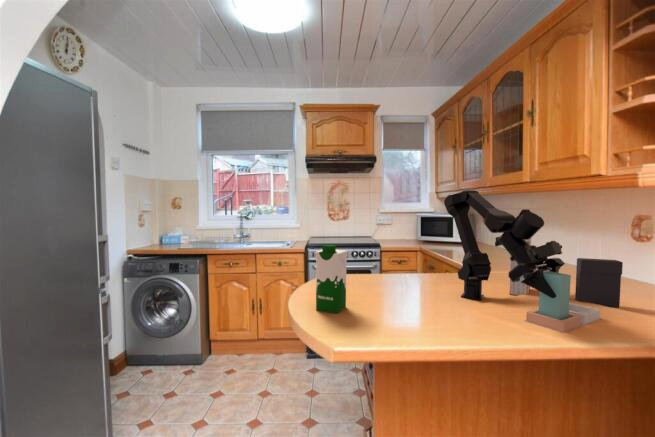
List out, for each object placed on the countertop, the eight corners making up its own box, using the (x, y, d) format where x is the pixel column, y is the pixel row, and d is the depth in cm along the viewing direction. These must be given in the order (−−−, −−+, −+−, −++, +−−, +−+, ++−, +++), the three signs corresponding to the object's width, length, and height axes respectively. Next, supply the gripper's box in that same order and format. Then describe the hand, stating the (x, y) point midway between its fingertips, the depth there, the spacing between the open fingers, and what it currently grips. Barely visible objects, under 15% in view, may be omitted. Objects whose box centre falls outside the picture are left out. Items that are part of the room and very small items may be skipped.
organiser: (523, 324, 88) (524, 311, 88) (562, 312, 99) (563, 300, 99) (563, 337, 80) (564, 323, 80) (601, 322, 90) (602, 309, 90)
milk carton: (312, 310, 98) (312, 245, 97) (324, 302, 106) (325, 242, 105) (338, 315, 94) (339, 247, 94) (349, 306, 103) (350, 243, 102)
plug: (538, 317, 87) (540, 273, 87) (548, 314, 90) (549, 271, 89) (558, 323, 83) (561, 277, 83) (568, 319, 86) (570, 274, 85)
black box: (613, 304, 107) (615, 259, 106) (620, 308, 103) (623, 261, 102) (573, 301, 110) (575, 257, 109) (579, 304, 106) (581, 259, 105)
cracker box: (512, 286, 129) (514, 234, 128) (530, 289, 125) (532, 235, 124) (508, 294, 118) (509, 237, 117) (527, 297, 114) (529, 238, 113)
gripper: (521, 232, 84) (567, 283, 75) (558, 229, 93) (603, 275, 84) (492, 257, 91) (531, 307, 82) (528, 253, 101) (567, 297, 92)
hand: (559, 296), depth 85 cm, fingers closed on plug, 5 cm apart
